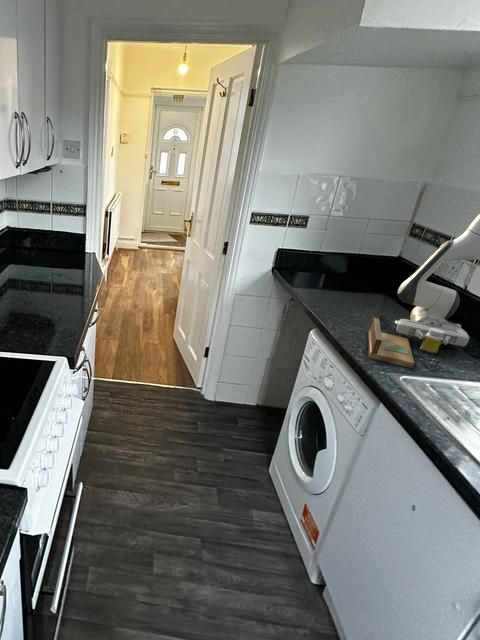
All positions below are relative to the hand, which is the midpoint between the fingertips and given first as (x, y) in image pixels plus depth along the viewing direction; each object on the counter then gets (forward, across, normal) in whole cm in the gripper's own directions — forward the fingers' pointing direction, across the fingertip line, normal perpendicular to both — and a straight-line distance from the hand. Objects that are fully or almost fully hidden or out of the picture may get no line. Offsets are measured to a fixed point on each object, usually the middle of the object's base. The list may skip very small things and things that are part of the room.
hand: (434, 340), depth 140 cm
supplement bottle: (-1, 0, +5) cm, 5 cm away
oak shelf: (+6, -12, +5) cm, 14 cm away
